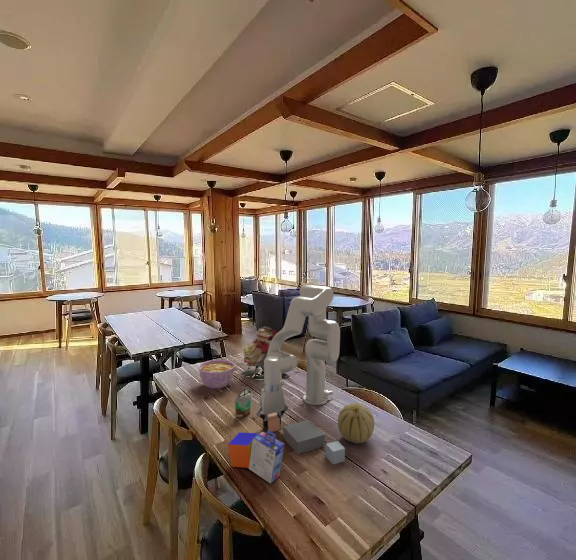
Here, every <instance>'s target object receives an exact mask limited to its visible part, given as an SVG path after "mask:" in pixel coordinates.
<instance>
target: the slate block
mask: <svg viewBox="0 0 576 560" xmlns="http://www.w3.org/2000/svg"><path fill="white" fill-rule="evenodd" d="M345 456H346V448H345V447H344V446H343V445H342V443H340V442H339V440H335V441H331V442H327V443H325V457H326V459H327V460H328V461H329V462H330V463H331V464H332V465H336V464H339V463H344V462H345V461H346V460H345V459H346V458H345Z"/></svg>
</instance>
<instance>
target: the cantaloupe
mask: <svg viewBox="0 0 576 560" xmlns="http://www.w3.org/2000/svg"><path fill="white" fill-rule="evenodd" d="M336 424H337V429H338V432H339V433H340V434H341V436H342V437H343V438H344V439H345V440H346V441H348V442H350V443H353V444H361V443H365V442H367V441H368V440H369V439H370V438H371V437H372V435H373V434H374V429H375V418H374V416H373V414H372V412H371V411H370V410H369V409H368V407H366V406H365V405H363V404H361V403H356V402H352V403H348V404H346V405H345V406H343V408H342V409H341V410H340V412H339V413H338V418H337V423H336Z"/></svg>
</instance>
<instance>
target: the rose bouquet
mask: <svg viewBox="0 0 576 560" xmlns="http://www.w3.org/2000/svg"><path fill="white" fill-rule="evenodd" d="M278 332H279V331H277V330H276V329H272V328H270V326H262V327H260V328H259V329H258V331H256V332H255V334H256V336H257V337H256V338H255V339H254V340H253V341H252V342H251V343H249V344H247V345H246V346H245V347H244V348H243V354H244V355H243V357H244V358H243V362H244V363H245V365H246V367H247V369H246V370H244V369H243V370H242V372H241V376H242V375H244V376H242V377H243V378H246V376H250V377H252V376H253V375H254V374H255V376H254V377H253V379H252V380H254V379H264V376H262V375H260V374H258V372H259V371H260V370H261V369H259V368H260V367H261V368H262V370H263V372H264V360H265V358H266V357H267V352H268V349H269V345H270V343H271V341H272V339H273V338H274V337H275V335H276V334H277V333H278ZM279 351H281V352H285V351H284V350H281V349H280V350H279ZM251 367H255V368H254V369H255V370H251ZM263 372H262V373H263ZM287 374H288V373H286V372H284V373H282V375H285V376H284V378H289V377H288V375H289V374H288V375H287ZM256 375H258V376H256Z"/></svg>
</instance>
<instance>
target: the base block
mask: <svg viewBox="0 0 576 560" xmlns="http://www.w3.org/2000/svg"><path fill="white" fill-rule="evenodd" d="M282 428H283V431H282V435H283V437H282V438H283V439H284V441H286V443H287V444H288V445H289V446H290V447H291V449H292V450H293V451H294V452H295V453H296V454H297V455H301V454H303V453H306V452H309V451H312V450H316V449H318V448H322V447H325V433H323V431H321V430H320V428H318V426H316V425H315V424H314V423H313V422H312V421H310V420H309V419H307V420H304V421H300V422H296V423H293V424H289V425H284V426H283V427H282Z"/></svg>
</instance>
